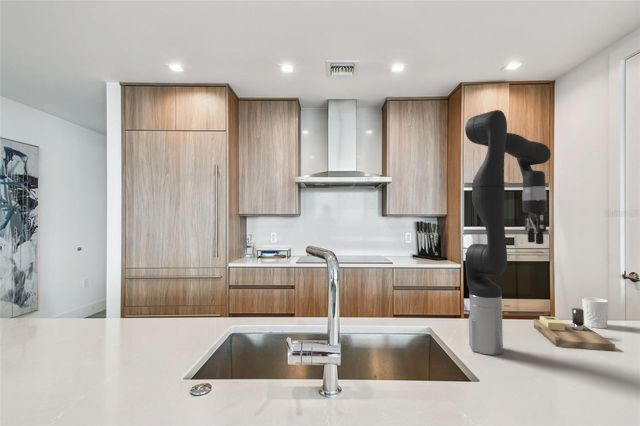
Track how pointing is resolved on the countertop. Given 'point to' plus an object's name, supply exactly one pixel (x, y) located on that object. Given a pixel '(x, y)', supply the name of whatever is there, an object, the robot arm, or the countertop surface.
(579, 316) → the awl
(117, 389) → the countertop surface
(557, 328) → the stud finder
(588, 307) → the white cup
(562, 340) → the board
